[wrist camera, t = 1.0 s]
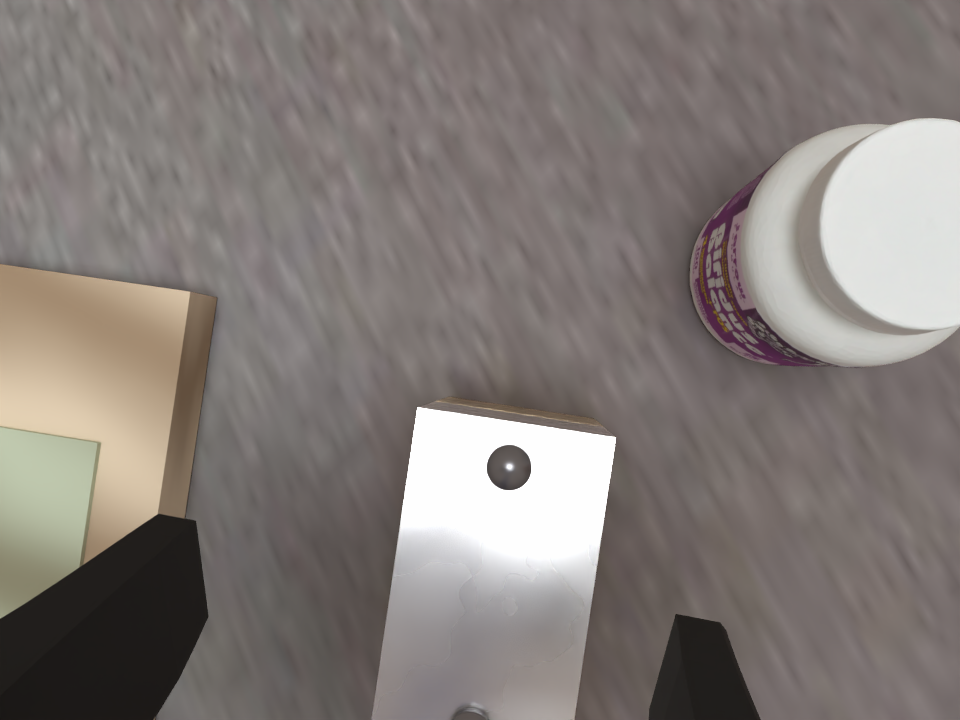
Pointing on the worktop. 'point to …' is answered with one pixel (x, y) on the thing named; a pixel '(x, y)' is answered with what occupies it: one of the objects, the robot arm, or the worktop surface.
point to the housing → (494, 564)
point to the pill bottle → (839, 250)
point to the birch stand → (91, 417)
